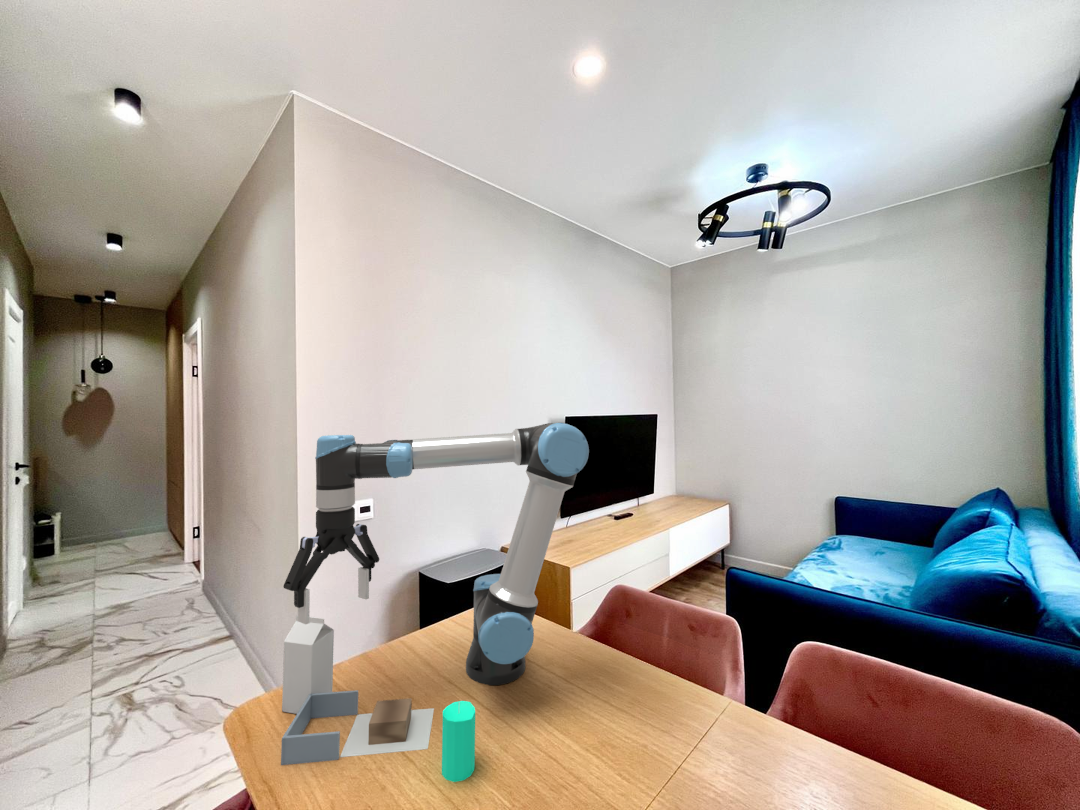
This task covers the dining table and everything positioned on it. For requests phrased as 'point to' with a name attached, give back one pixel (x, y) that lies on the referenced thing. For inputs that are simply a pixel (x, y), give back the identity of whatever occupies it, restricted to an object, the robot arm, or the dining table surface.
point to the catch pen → (317, 744)
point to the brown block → (390, 721)
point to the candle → (458, 741)
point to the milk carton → (307, 662)
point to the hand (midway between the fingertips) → (335, 609)
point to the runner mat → (414, 741)
